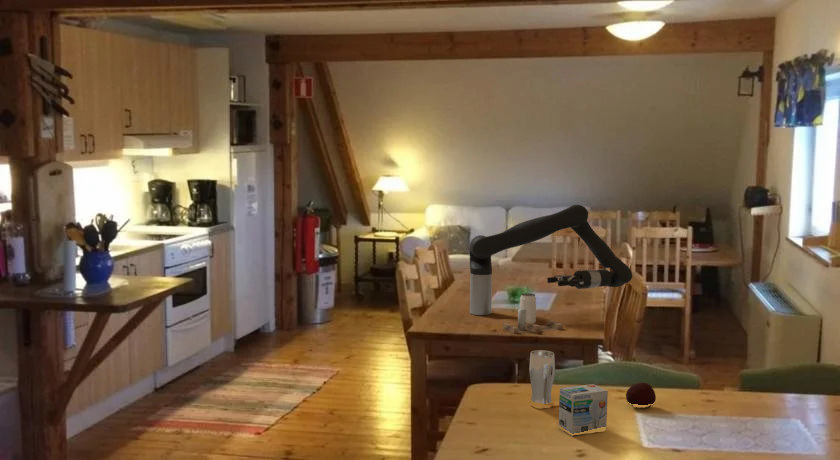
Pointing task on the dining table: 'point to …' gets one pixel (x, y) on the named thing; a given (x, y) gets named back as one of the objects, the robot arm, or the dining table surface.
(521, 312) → the grey peg
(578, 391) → the light bulb box
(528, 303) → the can
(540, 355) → the beer glass
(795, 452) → the dining table surface
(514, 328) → the rail
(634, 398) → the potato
